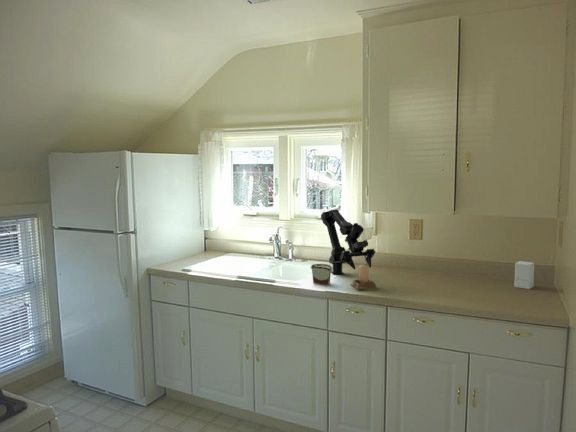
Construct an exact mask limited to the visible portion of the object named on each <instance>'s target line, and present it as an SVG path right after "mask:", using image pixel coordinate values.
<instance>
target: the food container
mask: <svg viewBox="0 0 576 432" xmlns="http://www.w3.org/2000/svg"><path fill="white" fill-rule="evenodd" d="M331 265H332V264H331ZM331 265H330V264H327V263H314V264H311V266H310V269H311V272H312V273H311V274H312V283H313V284H314V285H315V284H317V285H322V286H330V285H331V284H330V283H331V274H332V273H331V271H333V266H331Z"/></svg>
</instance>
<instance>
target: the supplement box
mask: <svg viewBox="0 0 576 432" xmlns="http://www.w3.org/2000/svg"><path fill="white" fill-rule="evenodd" d="M534 276H535V262H530V261H523V260H519V261H517V262H515V263H514V282H513V283H514V286H513V287H514V288H521V289H524V290H525V289H526V290H530V289H532V288H534V284H535V281H534V280H535V277H534Z"/></svg>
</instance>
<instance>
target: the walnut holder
mask: <svg viewBox="0 0 576 432" xmlns="http://www.w3.org/2000/svg"><path fill="white" fill-rule="evenodd" d="M376 285H377V283H376V282H375V281H373V280H372V279H370V278H369V284H359V279H352V283H351V284H350V287H352V289H354V290H355V291H357V292H361V291H362V292H363V291H364V292H365V291H375V290H376V291H377V290H379V287H376Z"/></svg>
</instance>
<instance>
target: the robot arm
mask: <svg viewBox="0 0 576 432" xmlns="http://www.w3.org/2000/svg"><path fill="white" fill-rule="evenodd" d="M320 219H321V220H322V224H323V225H325V226H326V228H327V232H328V236H329V240H330V243H331V248H332V249H331V252H330V257H329V258H328V261H329V264H331V265H332V271H331V274H332V275H345V272H343V264H348V265H349V266H350V267H351V268H352V269H353V270H356V265H355V263H354V261H353V257H356V258H357V257H364V259H365V262H366V265H369V269H370V268H372V258H373V257H374V256H375V254H376V251H375V249H374V248H367V249H366V251H364V250H365V248H366V247H368V246H369V242H368V240H367V239H364V240H362V241H360V240H358V239H359V238H361V235H362V234H363V232H364V227H363V226H362V225H361V224H359V223H358V222H353V223H351V222H349V221H347V220H346V219H345V218H344V216H343V215H342V214H341V213H340V210H339V209H330V210H327V211H323V212H322V213H321V215H320ZM335 223H336V224H337V225H338V227H339V231H340V232H339V233H341V235H342V236H345V239H344V242H345V243H346V244H347V245H348V250H346V249H345V246H341V243H340V239H339V235H338V232H337V229H336V224H335Z"/></svg>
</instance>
